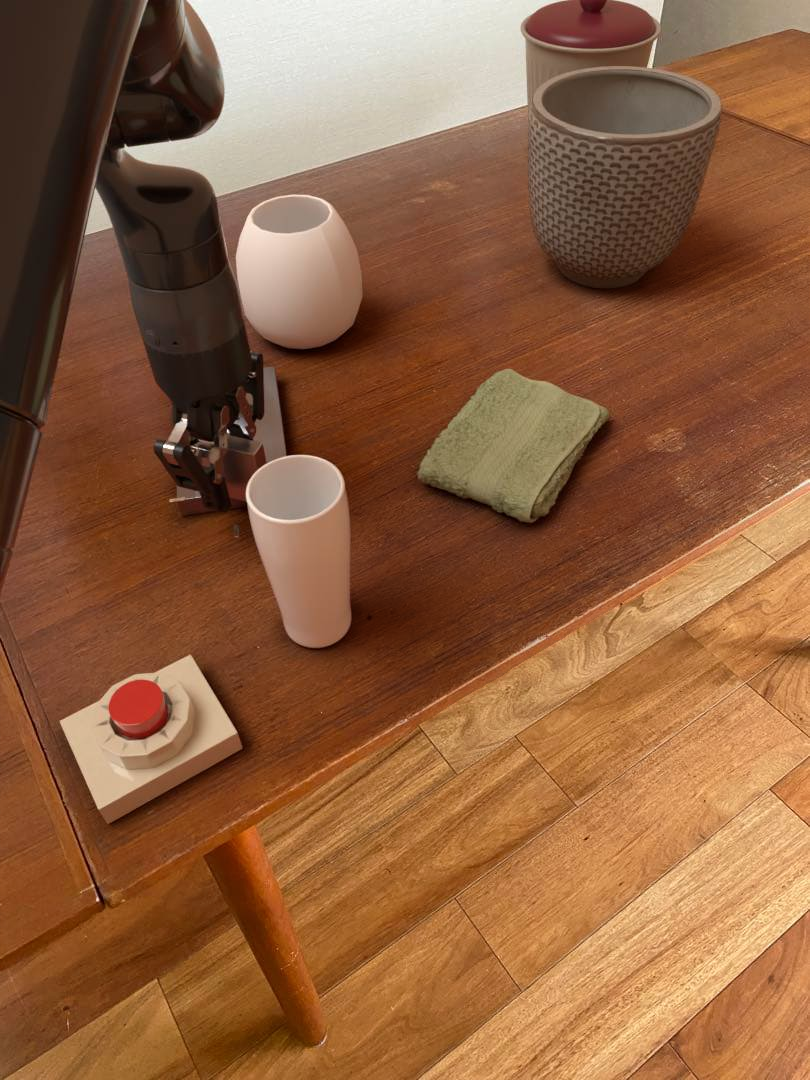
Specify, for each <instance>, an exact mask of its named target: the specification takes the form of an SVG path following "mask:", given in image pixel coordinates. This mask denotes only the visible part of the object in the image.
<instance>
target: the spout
mask: <svg viewBox="0 0 810 1080" xmlns="http://www.w3.org/2000/svg"><path fill="white" fill-rule="evenodd" d="M198 440H199V439H198ZM199 441H201V442H206V443H210V444H214V442H208V441H203V440H199ZM227 444H228V452H227V454H226V455H225V456H223V477H225V481H226V485H227V489H228V493H229V497H230V498H234V499H238V500H242V501H246V502H247V500H246V488H247V484H248V482H249V480H250V478H251V477H252V476H253V474H254V473H255V472H256V471H257V470H258V469H260V468H261V467H262V466H264V465H265V464H267V462H266V457H265V452H264V447H263V443H261V442H257V441H252V440H248V439H244V438H239V437H235V436H231V435H227ZM202 466H206V467H210V461H209V459H207V458H204V457H202Z"/></svg>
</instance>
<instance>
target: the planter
mask: <svg viewBox="0 0 810 1080" xmlns="http://www.w3.org/2000/svg"><path fill="white" fill-rule="evenodd" d="M722 111H723V104H722V100H721V98H720V97H719V95H718V94H717V93H716V92H715V90H713V89H712V88H711V87H709V86H708V85H706V84H705V83H703V82H702V81H699V80H697V79H695V78H693V77H690V76H687V75H684V74H682V73H677V72H674V71H669V70H665V69H658V68H652V67H647V68H645V67H633V66H606V67H594V68H586V69H580V70H575V71H571V72H567V73H564V74H561V75H558V76H555V77H553V78H551V79H549V80H547V81H546V82H544V83H543V84H541V85H540V86H539V87H538V88H537V89H536V90H535V91H534V93H533V95H532V98H531V103H530V109H529V119H528V126H527V127H528V128H527V129H528V131H527V134H528V135H527V136H528V137H527V142H528V144H527V148H528V149H527V187H528V188H527V189H528V207H529V217H530V218H529V219H530V223H531V227H532V230H533V234H534V237H535V239H536V241H537V243H538V244H539V247H540V248H541V250H542V251H543V252H544V253H545V254H546V256H547V257H548V258H550V260H551V261H552V262H553V263H554V264H555V265H556V267H557V269H558V270H559V272H560V273H561V274H562V275H563V276H564V277H565V278H567V279H568V280H569V281H571V282H573V283H576V284H578V285H580V286H584V287H588V288H592V289H604V290H606V289H618V288H623V287H626V286H630V285H631V284H634V283H635V282H637V281H639V280H640V279H641V278H642V277H643V276H644V275H645V274H646V273H647V272H648V271H650V270H651V269H654V268H656V267H657V266H658V265H659V264H661V263H662V262H664V261H665V260H666V259H667V258H668V257H669V256H670V255H671V254H672V253H673V252H674V251H675V250H676V249H677V247H678V246H679V245H680V243H681V241H682V239H683V238H684V235H686V232H687V230H688V228H689V225H690V223H691V222H692V221H691V220H692V218H693V215H694V212H695V210H696V207H697V204H698V201H699V198H700V195H701V192H702V190H703V186H704V183H705V179H706V176H707V172H708V169H709V166H710V162H711V159H712V155H713V151H714V149H715V145H716V142H717V138H718V136H719V135H718V134H719V130H720V128H721V121H722Z"/></svg>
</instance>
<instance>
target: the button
mask: <svg viewBox="0 0 810 1080" xmlns="http://www.w3.org/2000/svg"><path fill="white" fill-rule="evenodd" d="M109 714H110V716H111V718H112V720H113V722H114V724H115V726H116V728H117V729H118V731H119V732H120V733H121V734H122V735H124V736H125V737H128V738H132V739H140V738H145V737H148V736H150V735H153V734H154V733H156V732H157V731H158V730H159V729H161V727H162V726H163V725H164V724H165V722H166V720H167V718H168V714H169V707H168V704H167V702H166V699H165V697H164V695H163V693H162V690H161V688H160V687H159V686H158V685H157V684H156V683H154V682H152V681H149V680H134V681H131V682H128V683H126V684H124V685H122V686H121V687H120V688H119V689H117V690H116V691H115V693H114V694H113V695H112V697H111V699H110V702H109Z"/></svg>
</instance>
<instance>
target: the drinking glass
mask: <svg viewBox="0 0 810 1080" xmlns="http://www.w3.org/2000/svg"><path fill="white" fill-rule="evenodd" d="M246 500H247V506H248V507H247V513H248V518H249V523H250V527H251V532H252V535H253V539H254V543H255V545H256V548H257V551H258V554H259V557H260V560H261V563H262V565H263V568H264V571H265V573H266V576H267V578H268V581H269V585H270V587H271V589H272V592H273V595H274V597H275V601H276V603H277V606H278V609H279V612H280V616H281V619H282V624H283V627H284V630H285V632H286V634H287V636H288V637H289V638H290V640H292V641H293V642H294V643H296V644H298V645H300V646H301V647H305V648H309V649H321V648H327V647H330V646H332V645H335V644H336V643H337V642H339V641H340V640H341V639H342V638H343V637H345V635H346V634H347V633H348V631H349V629H350V627H351V625H352V618H353V617H352V607H351V516H350V507H349V499H348V493H347V489H346V483H345V479H344V476H343V473H342V472H341V470H340V469H339V468H338V467H337V466H336V465H335V464H334V463H332V462H330V461H328V460H327V459H324V458H322V457H319V456H315V455H309V454H292V455H287V456H285V457H281V458H278V459H275V460H273V461H271V462H269V463H267V464H265V465H264V466H262V467H261V468H260V469H258V470H257V471H256V472H255V473H254V474H253V476H252V477H251V478H250V480H249V482H248V484H247V488H246Z"/></svg>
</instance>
